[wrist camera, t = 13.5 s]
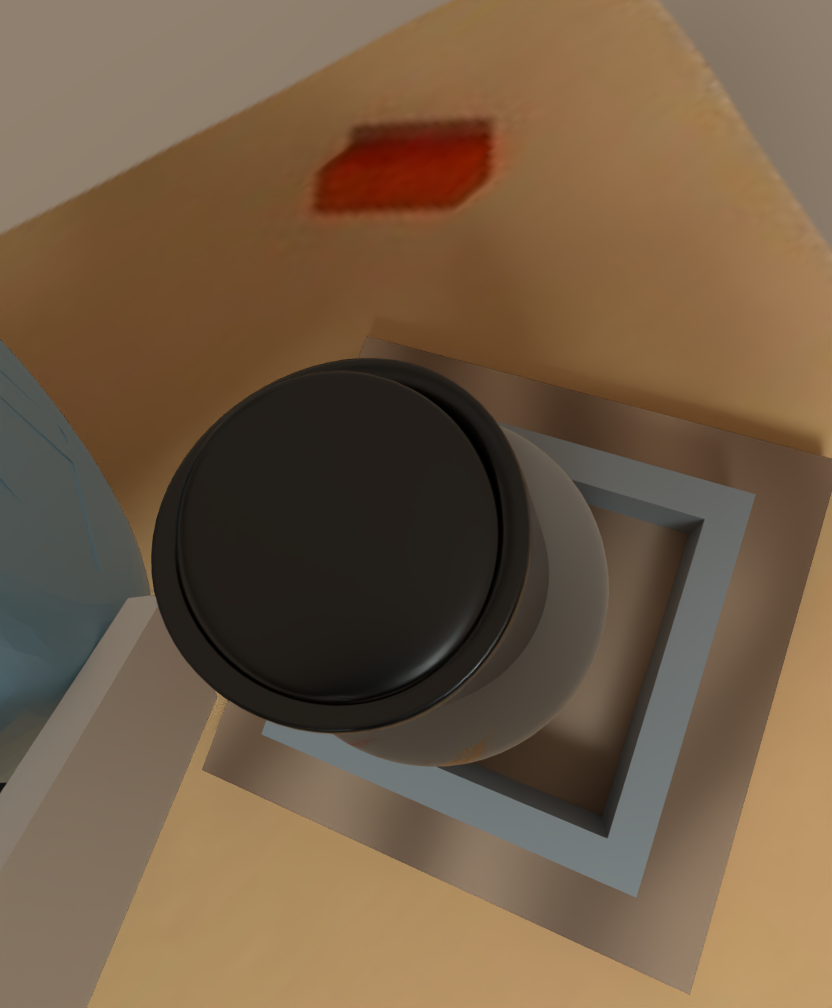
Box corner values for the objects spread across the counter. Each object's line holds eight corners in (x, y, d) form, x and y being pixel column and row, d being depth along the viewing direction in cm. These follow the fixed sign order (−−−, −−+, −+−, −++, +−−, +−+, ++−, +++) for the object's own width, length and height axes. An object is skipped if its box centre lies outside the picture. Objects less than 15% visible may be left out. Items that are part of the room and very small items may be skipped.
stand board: (220, 763, 28) (202, 769, 27) (376, 350, 30) (366, 336, 29) (682, 974, 24) (689, 995, 22) (824, 471, 26) (840, 460, 25)
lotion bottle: (557, 524, 26) (522, 155, 7) (610, 679, 24) (756, 761, 5) (410, 571, 27) (8, 357, 8) (453, 724, 25) (91, 936, 6)
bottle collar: (294, 725, 26) (261, 734, 24) (406, 417, 28) (389, 390, 25) (627, 867, 23) (636, 897, 20) (733, 512, 25) (755, 494, 22)
